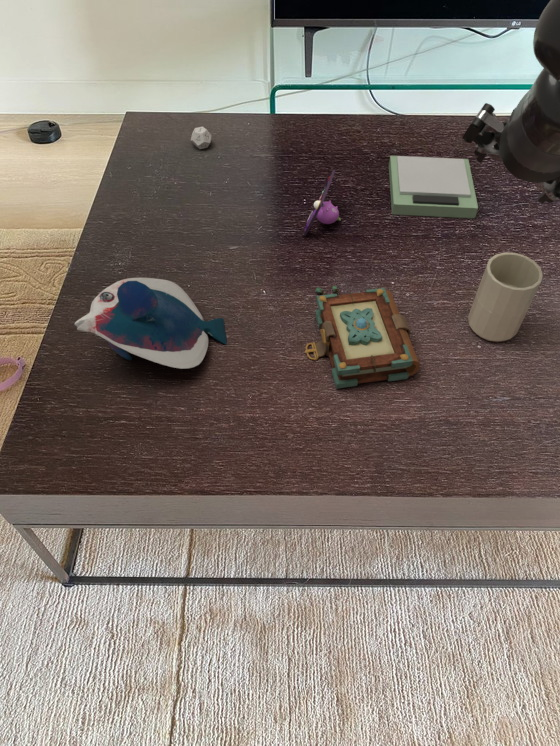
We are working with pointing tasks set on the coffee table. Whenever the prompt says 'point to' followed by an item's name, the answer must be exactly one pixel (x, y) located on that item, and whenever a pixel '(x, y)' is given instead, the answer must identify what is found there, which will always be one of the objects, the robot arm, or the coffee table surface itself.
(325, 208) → the purple winged figurine
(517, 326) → the cup
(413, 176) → the scale
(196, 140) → the game die
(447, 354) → the coffee table surface
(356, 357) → the decorative book
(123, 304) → the decorative fish sculpture
